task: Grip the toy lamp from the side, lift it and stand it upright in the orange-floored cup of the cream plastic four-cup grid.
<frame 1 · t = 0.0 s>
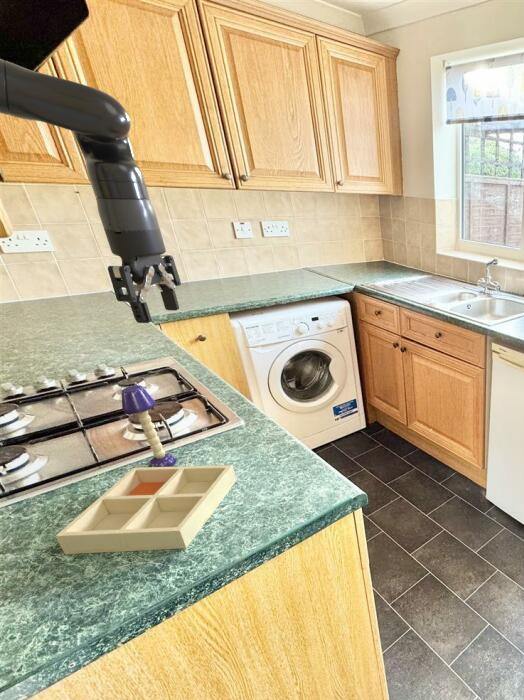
hand: (159, 315, 80), 27 cm above the counter, tool pointing down, fingers open, 8 cm apart
grid: (161, 513, 70), on the counter
toy lamp: (161, 465, 82), on the counter
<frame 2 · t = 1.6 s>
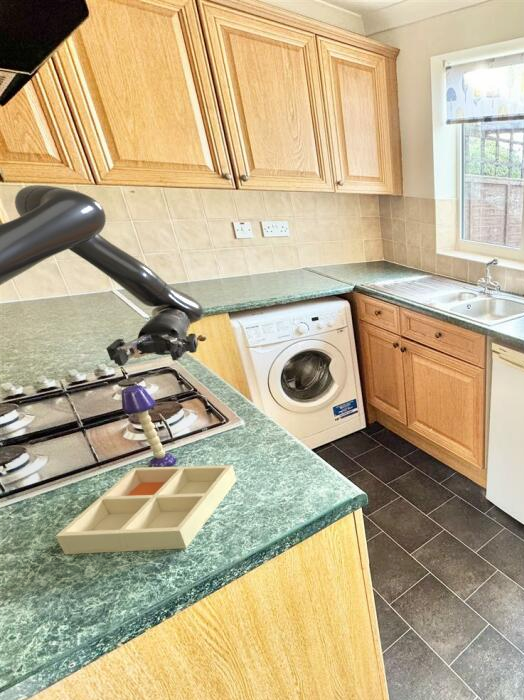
hand: (147, 358, 83), 18 cm above the counter, tool horizontal, fingers open, 8 cm apart
nothing on the counter moved.
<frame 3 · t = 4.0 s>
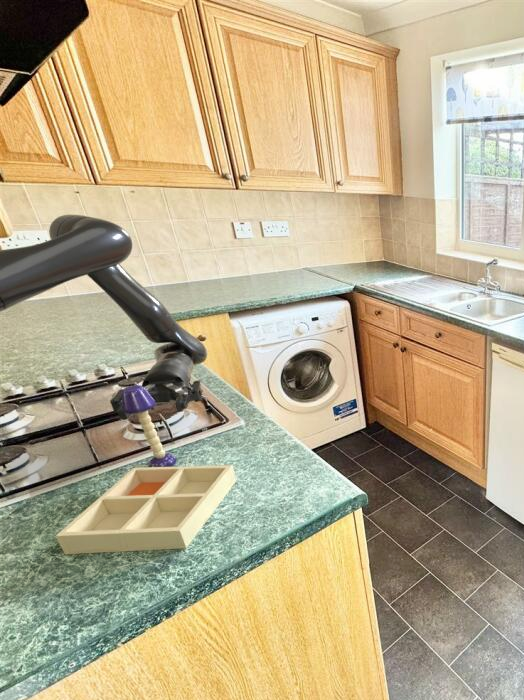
hand: (151, 411, 81), 9 cm above the counter, tool horizontal, fingers open, 8 cm apart
nothing on the counter moved.
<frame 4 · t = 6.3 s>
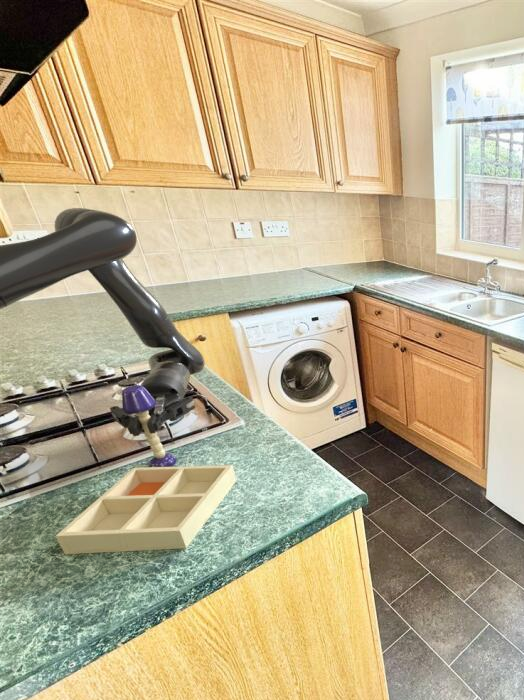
hand: (143, 430, 75), 9 cm above the counter, tool horizontal, fingers closed on toy lamp
toy lamp: (161, 465, 82), on the counter, touching gripper
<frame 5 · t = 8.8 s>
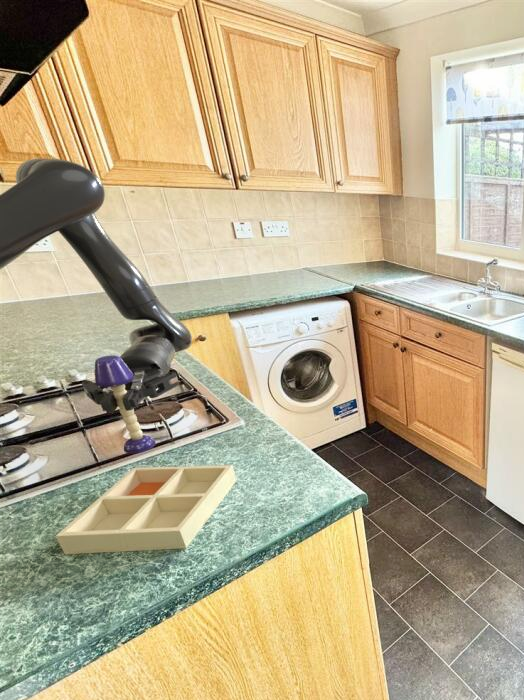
hand: (117, 406, 67), 18 cm above the counter, tool horizontal, fingers closed on toy lamp
toy lamp: (138, 448, 73), point 8 cm above the counter, touching gripper
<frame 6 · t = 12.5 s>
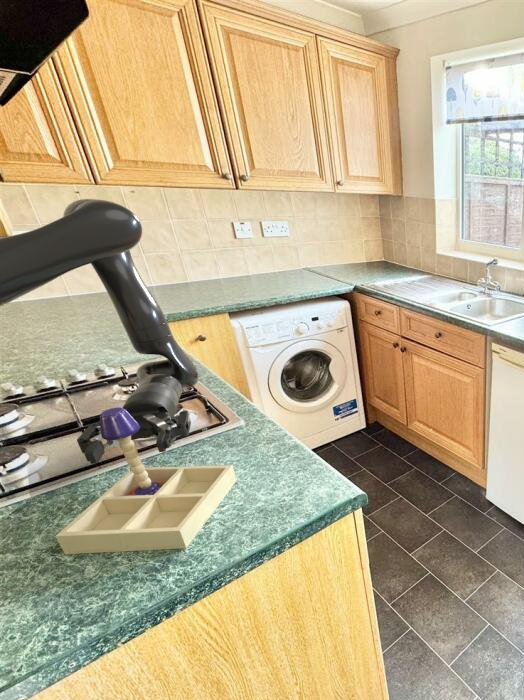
hand: (127, 452, 67), 11 cm above the counter, tool horizontal, fingers open, 8 cm apart
toy lamp: (147, 495, 73), point 1 cm above the counter, touching grid
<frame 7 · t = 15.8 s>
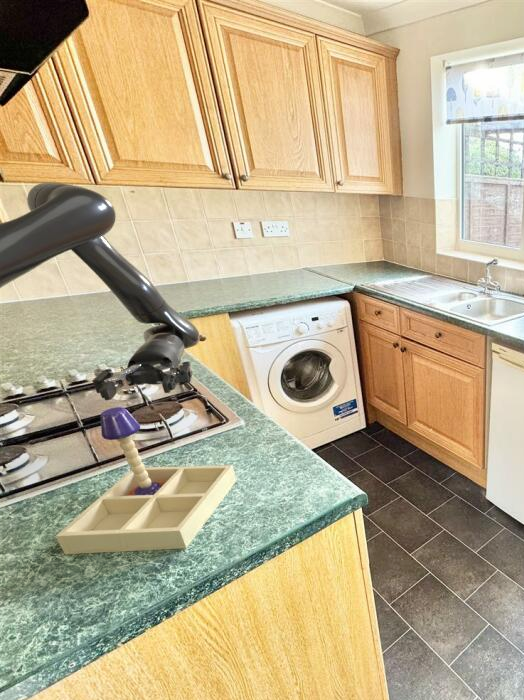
hand: (136, 391, 76), 15 cm above the counter, tool horizontal, fingers open, 8 cm apart
nothing on the counter moved.
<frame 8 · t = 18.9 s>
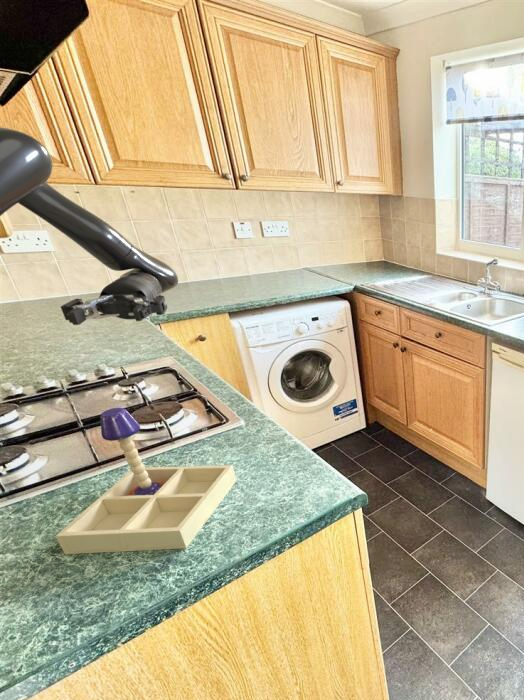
hand: (106, 317, 74), 28 cm above the counter, tool horizontal, fingers open, 8 cm apart
nothing on the counter moved.
at the end: toy lamp 0.4 cm from the target spot in the grid, point 0.6 cm above the grid's base; toy lamp tilted 0°; the gripper is holding nothing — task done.
